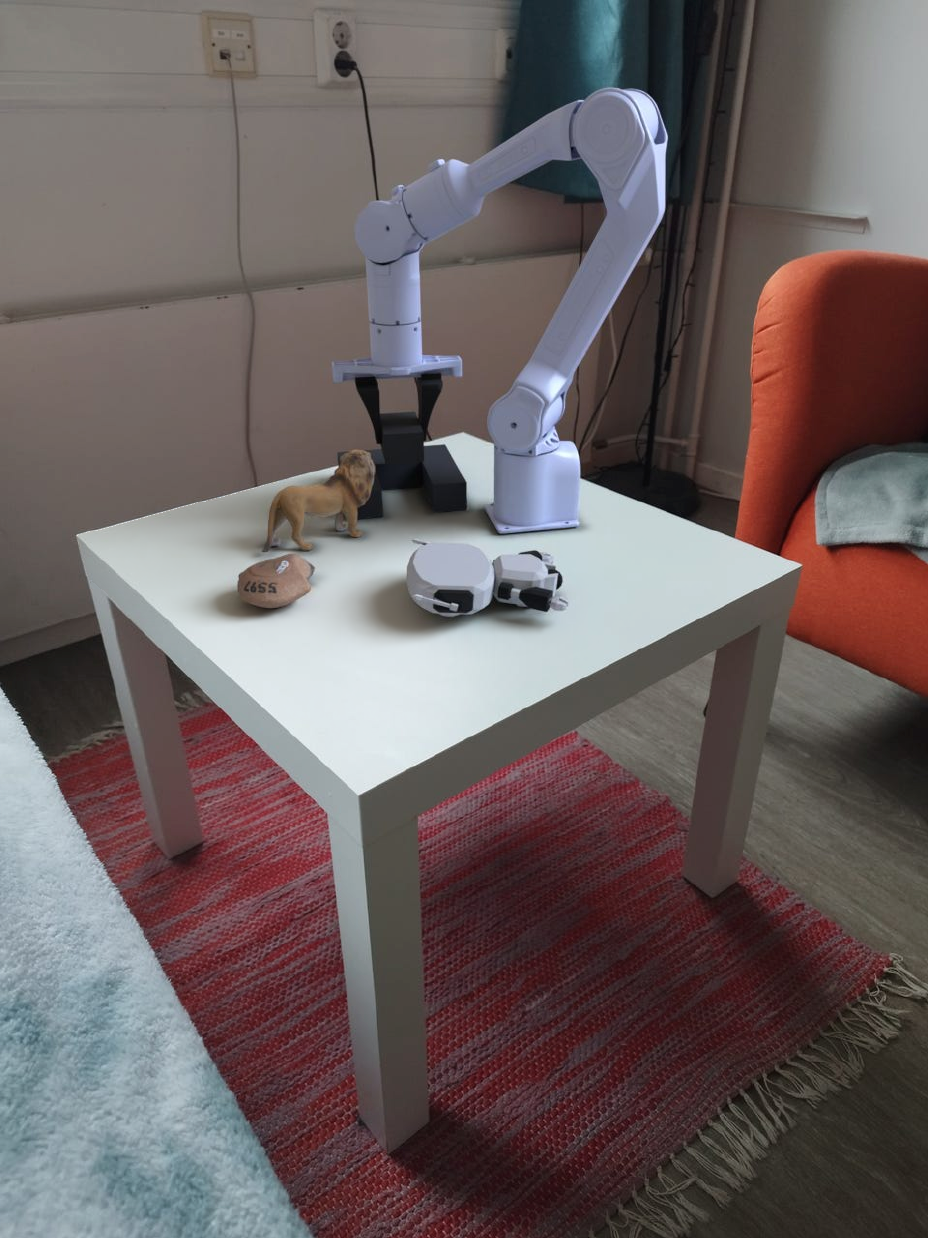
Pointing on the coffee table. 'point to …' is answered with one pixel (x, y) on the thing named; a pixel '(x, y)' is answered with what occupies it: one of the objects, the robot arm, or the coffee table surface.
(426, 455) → the notched pad
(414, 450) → the black block
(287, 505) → the lion figurine
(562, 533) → the coffee table surface
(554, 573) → the robot toy
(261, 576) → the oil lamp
